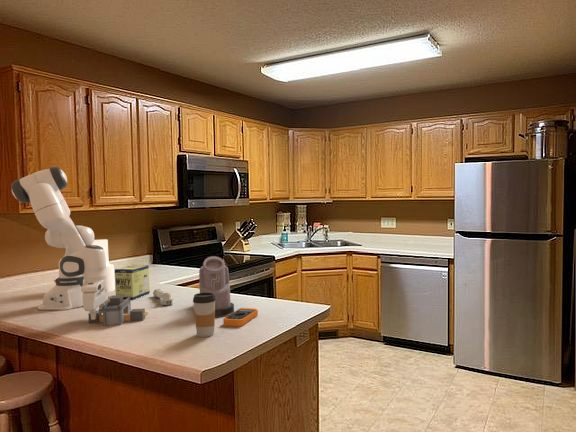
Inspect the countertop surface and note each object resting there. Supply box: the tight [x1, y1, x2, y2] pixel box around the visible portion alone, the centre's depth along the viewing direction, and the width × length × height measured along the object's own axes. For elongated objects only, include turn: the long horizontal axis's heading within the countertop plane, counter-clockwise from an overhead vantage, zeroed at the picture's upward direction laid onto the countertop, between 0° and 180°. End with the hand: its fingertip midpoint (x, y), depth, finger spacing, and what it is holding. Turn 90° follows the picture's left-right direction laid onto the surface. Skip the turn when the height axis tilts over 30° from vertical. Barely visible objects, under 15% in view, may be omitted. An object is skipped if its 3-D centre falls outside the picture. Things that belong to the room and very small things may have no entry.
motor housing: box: [102, 295, 132, 327], centre depth 190 cm, size 7×15×10 cm, turn 4°
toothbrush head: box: [152, 288, 174, 306], centre depth 224 cm, size 5×7×25 cm
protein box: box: [114, 264, 151, 301], centre depth 235 cm, size 10×16×16 cm
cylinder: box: [92, 238, 116, 293], centre depth 252 cm, size 17×17×28 cm
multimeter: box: [222, 307, 259, 328], centre depth 185 cm, size 9×18×3 cm, turn 161°
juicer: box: [198, 255, 235, 319], centre depth 204 cm, size 30×16×24 cm, turn 14°
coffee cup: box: [192, 292, 216, 338], centre depth 167 cm, size 8×8×15 cm
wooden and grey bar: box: [88, 308, 149, 324], centre depth 190 cm, size 24×4×4 cm, turn 94°
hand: (97, 316), depth 190 cm, fingers open, 8 cm apart
